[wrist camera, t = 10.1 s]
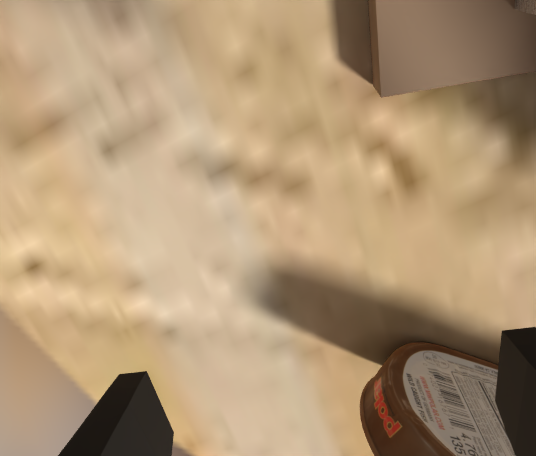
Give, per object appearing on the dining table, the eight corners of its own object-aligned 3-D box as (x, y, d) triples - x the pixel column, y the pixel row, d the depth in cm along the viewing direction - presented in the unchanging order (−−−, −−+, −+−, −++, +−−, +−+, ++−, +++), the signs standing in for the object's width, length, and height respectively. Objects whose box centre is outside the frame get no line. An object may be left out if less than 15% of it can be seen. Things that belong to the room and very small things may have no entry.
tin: (345, 354, 24) (374, 532, 17) (376, 310, 22) (422, 486, 15) (584, 430, 27) (697, 611, 20) (626, 396, 25) (765, 579, 18)
